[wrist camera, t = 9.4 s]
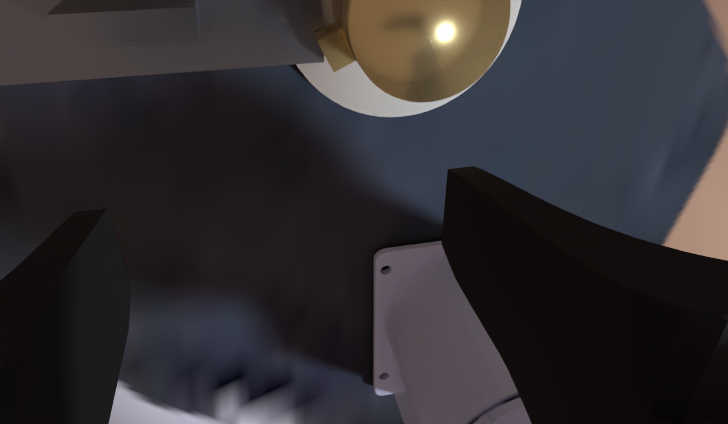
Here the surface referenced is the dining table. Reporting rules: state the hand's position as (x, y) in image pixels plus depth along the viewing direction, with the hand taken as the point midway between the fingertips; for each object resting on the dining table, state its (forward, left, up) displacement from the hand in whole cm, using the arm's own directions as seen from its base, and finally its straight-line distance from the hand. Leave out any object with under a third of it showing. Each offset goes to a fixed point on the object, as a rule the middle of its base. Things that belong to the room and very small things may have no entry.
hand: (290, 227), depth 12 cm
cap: (+3, -5, -10) cm, 11 cm away
